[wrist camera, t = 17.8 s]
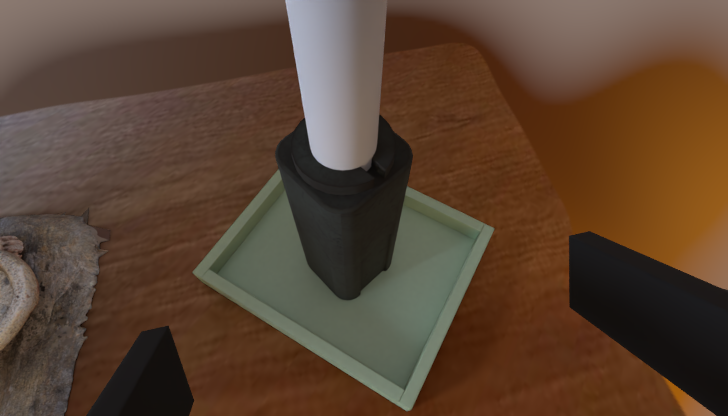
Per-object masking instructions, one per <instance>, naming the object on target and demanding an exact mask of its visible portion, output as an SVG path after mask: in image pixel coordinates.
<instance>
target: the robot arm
mask: <svg viewBox="0 0 728 416" xmlns="http://www.w3.org/2000/svg"><path fill="white" fill-rule="evenodd" d="M569 293H570V308H572V309H573V310H574V311H576V312H577V313H578V314H580V315H581V316H582V317H584V318H585V319H586V320H588V321H589V322H590V323H592V324H593V325H595V326H596V327H597V328H599V329H600V330H601V331H603V332H604V333H605V334H607V335H608V336H609V337H611V338H612V339H614V340H615V341H616V342H618V343H619V344H620V345H622V346H623V347H624V348H626V349H627V350H628V351H630V352H631V353H632V354H634V355H635V356H637V357H638V358H639V359H641V360H642V361H643V362H645V363H646V364H647V365H649V366H650V367H651V368H653V369H654V370H655V371H657V372H658V373H660V374H661V375H662V376H664V377H665V378H666V379H668V380H669V381H670V382H672V383H673V384H674V385H676V386H677V387H678V388H680V389H681V390H683V391H684V392H686V393H687V394H688V395H689V396H691V397H692V398H694V399H695V400H696V401H698V402H699V403H700V404H702V405H703V406H704V407H706V408H707V409H708V410H710V411H711V412H713V413H714V414H715V415H716V416H728V290H725V289H722V288H719V287H716V286H714V285H712V284H710V283H708V282H705V281H703V280H701V279H698V278H695V277H694V276H691V275H689V274H687V273H684V272H682V271H680V270H678V269H675V268H673V267H670V266H668V265H666V264H664V263H661V262H659V261H657V260H654V259H652V258H650V257H647V256H645V255H643V254H640V253H638V252H636V251H634V250H631V249H629V248H627V247H625V246H622V245H620V244H617V243H615V242H613V241H611V240H608V239H606V238H604V237H601V236H599V235H597V234H595V233H592V232H590V231H589V232H585V233H580V234H576V235H571V236H569ZM193 402H194V399H193V396H192V393H191V390H190V387H189V384H188V381H187V378H186V375H185V373H184V370H183V367H182V364H181V361H180V358H179V355H178V352H177V349H176V346H175V343H174V340H173V337H172V334H171V331H170V329H169V326H165V327H160V328H156V329H151V330H147V331H142V332H141V333H140V335H139V336H138V338H137V339H136V341H135V342H134V344H133V346H132V347H131V349H130V350H129V352H128V353H127V355H126V356H125V358H124V359H123V361H122V362H121V364H120V365H119V367H118V368H117V370H116V371H115V373H114V374H113V376H112V377H111V379H110V380H109V382H108V383H107V385H106V387H105V388H104V390H103V391H102V393H101V394H100V396H99V397H98V399H97V400H96V402H95V403H94V405H93V406H92V408H91V409H90V411H89V412H88V414H87V415H86V416H189V414H190V411H191V408H192V405H193Z"/></svg>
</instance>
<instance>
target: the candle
mask: <svg viewBox="0 0 728 416" xmlns="http://www.w3.org/2000/svg"><path fill="white" fill-rule="evenodd" d="M285 1H286V6H287V13H288V19H289V24H290V30H291V36H292V42H293V48H294V54H295V60H296V66H297V72H298V78H299V84H300V90H301V96H302V102H303V108H304V114H305V118H304V119H303V120H302V121H300V123H299V124H298V126H297V127H296V129H295V130H294V131H293V132H292V133H290V134H289V135H287V136H286V137H285V138H283V139H282V140H281V141H280V143H279V144H278V145H277V148H276V152H275V158H276V161H277V165H278V168H279V171H280V174H281V178H282V181H283V184H284V188H285V191H286V194H287V198H288V201H289V204H290V208H291V211H292V214H293V217H294V221H295V224H296V227H297V231H298V234H299V237H300V241H301V244H302V247H303V251H304V254H305V257H306V260H307V263H308V266H309V267H310V268H311V270H312V271H313V272H314V273H315V274H316V275H317V276H318V277H319V278H320V279H321V280H322V281H323V282H324V283H325V285H326V286H327V287H328V288H329V289H330V290H331V291H332V292H333V293H334V294H335V295H336V296H337V297H338V298H340V299H342V300H353V299H355V298H357V297H358V296H360V294H361V290H362V289H363V288H365V287H366V286H367V285H368V284H369V283H370V282H371V281H372V280H373V279H374V278H375V277H376V276H378V275H379V274H380V273H381V272H382V271H387V270H388V268H389V267H390V265H391V261H392V256H393V252H394V247H395V242H396V237H397V232H398V227H399V222H400V218H401V213H402V208H403V203H404V198H405V193H406V188H407V184H408V179H409V174H410V169H411V164H412V158H413V155H412V150H411V148H410V146H409V144H408V143H407V142H406V141H405V140H404V139H402V138H401V137H400V136H399V135H397V134H396V133H395V132H393V130H392V128H391V127H390V125H389V123H388V122H387V121H386V120H385V119H384V118H383V117H382V116H381V115H379V110H380V96H381V82H382V67H383V53H384V39H385V25H386V11H387V0H285Z"/></svg>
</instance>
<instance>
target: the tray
mask: <svg viewBox="0 0 728 416" xmlns="http://www.w3.org/2000/svg"><path fill="white" fill-rule="evenodd" d="M493 231H494V228H493V227H491V226H489V225H486V224H484V223H482V222H480V221H478V220H476V219H474V218H472V217H470V216H468V215H466V214H464V213H462V212H460V211H457V210H455V209H453V208H451V207H449V206H447V205H445V204H443V203H441V202H439V201H437V200H435V199H433V198H430V197H428V196H426V195H424V194H422V193H420V192H418V191H416V190H414V189H412V188H410V187H408V186H407V188H406V193H405V198H404V203H403V208H402V213H401V218H400V222H399V227H398V232H397V237H396V242H395V247H394V252H393V256H392V261H391V265H390V267H389V268H388V270H387V271H382V272H381V273H380V274H379V275H378V276H376V277H375V278H374V279H373V280H372V281H371V282H370V283H369V284H368V285H367V286H366V287H365V288H363V289H362V290H361V294H360V296H358V297H357V298H355V299H353V300H342V299H340V298H338V297H337V296H336V295H335V294H334V293H333V292H332V291H331V290H330V289H329V288H328V287H327V286H326V285H325V283H324V282H323V281H322V280H321V279H320V278H319V277H318V276H317V275H316V274H315V273H314V272H313V271H312V270H311V268H310V267H309V266H308V263H307V260H306V257H305V254H304V251H303V247H302V244H301V241H300V237H299V234H298V231H297V227H296V224H295V221H294V217H293V214H292V211H291V208H290V204H289V201H288V198H287V194H286V191H285V188H284V184H283V181H282V178H281V174H280V171H279V169H278V170H277V172H276V173H275V174H274V175H273V176H272V178H271V179H270V180H269V181H268V182H267V184H266V185H265V186H264V187H263V188H262V190H261V191H260V192H259V193H258V194H257V196H256V197H255V198H254V199H253V200H252V202H251V203H250V204H249V205H248V206H247V208H246V209H245V210H244V211H243V212H242V214H241V215H240V216H239V217H238V218H237V219H236V221H235V222H234V223H233V224H232V225H231V227H230V228H229V229H228V230H227V231H226V233H225V234H224V235H223V236H222V237H221V239H220V240H219V241H218V242H217V243H216V245H215V246H214V247H213V248H212V249H211V251H210V252H209V253H208V254H207V255H206V257H205V258H204V259H203V260H202V261H201V263H200V264H199V265H198V266H197V267H196V269H195V270H194V271H193V272H192V273H193V274H194V275H195V276H196V277H197V278H198V279H199V280H201V281H202V282H203V283H204V284H206V285H207V286H209V287H211V288H212V289H214V290H215V291H217V292H219V293H220V294H222V295H223V296H225V297H227V298H228V299H230V300H231V301H233V302H234V303H236V304H238V305H239V306H241V307H242V308H244V309H246V310H247V311H249V312H250V313H252V314H253V315H255V316H257V317H258V318H260V319H261V320H263V321H265V322H266V323H268V324H269V325H271V326H272V327H274V328H276V329H277V330H279V331H280V332H282V333H284V334H285V335H287V336H288V337H290V338H292V339H293V340H295V341H296V342H298V343H299V344H301V345H303V346H304V347H306V348H307V349H309V350H311V351H312V352H314V353H315V354H317V355H318V356H320V357H322V358H323V359H325V360H326V361H328V362H330V363H331V364H333V365H334V366H336V367H337V368H339V369H341V370H342V371H344V372H345V373H347V374H349V375H350V376H352V377H353V378H355V379H357V380H358V381H360V382H361V383H363V384H364V385H366V386H368V387H369V388H371V389H372V390H374V391H376V392H377V393H379V394H380V395H382V396H383V397H385V398H387V399H388V400H390V401H391V402H393V403H395V404H396V405H398V406H399V407H401V408H402V409H404V410H406V411H409V410H411V409H412V408H413V405H414V403H415V401H416V399H417V397H418V394H419V392H420V390H421V388H422V386H423V384H424V381H425V379H426V377H427V375H428V373H429V371H430V368H431V366H432V364H433V362H434V360H435V357H436V355H437V353H438V351H439V349H440V347H441V344H442V342H443V340H444V338H445V336H446V334H447V331H448V329H449V327H450V325H451V323H452V320H453V318H454V316H455V314H456V312H457V310H458V307H459V305H460V303H461V301H462V299H463V297H464V294H465V292H466V290H467V288H468V286H469V283H470V281H471V279H472V277H473V275H474V273H475V270H476V268H477V266H478V264H479V262H480V260H481V257H482V255H483V253H484V251H485V249H486V246H487V244H488V242H489V240H490V238H491V236H492V233H493Z"/></svg>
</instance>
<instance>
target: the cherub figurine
mask: <svg viewBox="0 0 728 416" xmlns="http://www.w3.org/2000/svg"><path fill="white" fill-rule="evenodd" d="M62 213H63V212H62ZM57 214H59V213H57ZM88 214H89V208H88V209H87V210H86V211H85V212H84V213H83V215H82V216H74V215H65V213H63V214H62V215H56V214H44V215H21V216H9V217H4V218H3V217H2V218H0V416H64V412H66V410H67V401H68V397H69V392H70V390H71V383H72V381H73V377H72V375H73V371H74V364H75V360H76V358H77V356H78V352H79V349H80V348H81V346H82V344H83V342H84V341H85V339H86V338H87V337H88V336H87V337H83V333H84V332H85V331H86V329H85V328H82V327H80V324H82V323H83V322H84V321H86V320H87V319H88V317H87V316H86V313H87V312H88V310H89V309H91V308H92V307H91V302H92V297H93V294H94V292H95V291H96V289H95V288H94V287H93V286H94V285H95V284H96V283H97V277H96V276H95V275H98V274H99V266H98V259H99V257H100V256H102V255H103V254H105V253H106V252H108V251H107V250H101V249H100V246H99V244H100V242H104V241H108V240H110V230H107V229H103V228H98V227H94V226H90V225H87V222H88Z"/></svg>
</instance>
